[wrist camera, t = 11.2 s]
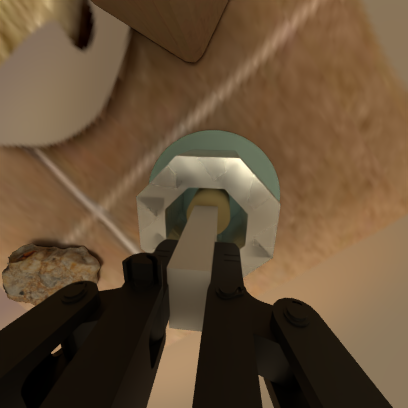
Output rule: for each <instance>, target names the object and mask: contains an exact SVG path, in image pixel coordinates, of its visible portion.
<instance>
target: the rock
mask: <svg viewBox="0 0 408 408" xmlns="http://www.w3.org/2000/svg"><path fill="white" fill-rule="evenodd" d="M8 258H9V263H7V264H8V266H7V268H6V269H4V271H3V272H2V279H3V287H4V289H5V292H6V293H7V297H8V298H9V299H12V300H14V301H17V302H25V303H31V304H33V305H35V306H36V305H38V304H39V303H41V302H42V301H44V300H45V299H46V298H48V297H49V296H51V295H52V294H54V293H55V292H56V291H58V290H59V289H61V288H63V287H65V286H66V285H68V284H71V283H74V282H77V281H84V280H86V281H92V282H94V283H96V284H97V282H98V278H97V272H98V270H99V268H100V264H99V262H98V260H97V259H96V258H95V257H93V256H91V254H89V253H88V250H87V249H86V248H85V247H84V246H81V247H79V248H67V249H59V248H56V247H51V248H49V247H41V246H35V245H34V244H33V243H31V244H29V245H25V246H22V247H20V248H19V249H18V250H17V251H15V252H13V253H12V254H11V255H10V257H8Z"/></svg>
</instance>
